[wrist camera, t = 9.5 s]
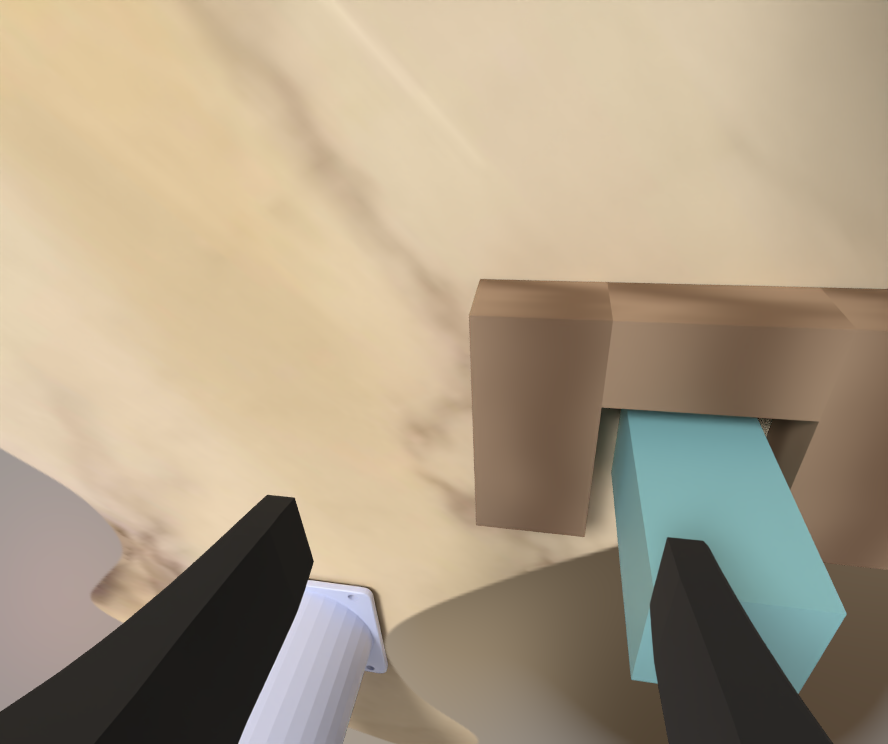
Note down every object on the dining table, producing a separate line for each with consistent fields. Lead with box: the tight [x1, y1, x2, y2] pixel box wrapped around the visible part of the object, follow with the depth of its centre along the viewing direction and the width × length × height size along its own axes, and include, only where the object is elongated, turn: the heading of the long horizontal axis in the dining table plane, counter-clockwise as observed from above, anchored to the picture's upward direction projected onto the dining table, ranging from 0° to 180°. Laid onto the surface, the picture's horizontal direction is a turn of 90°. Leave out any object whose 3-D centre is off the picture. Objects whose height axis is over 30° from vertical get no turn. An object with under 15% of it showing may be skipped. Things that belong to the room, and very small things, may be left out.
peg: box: [611, 409, 846, 694], centre depth 17 cm, size 4×4×8 cm
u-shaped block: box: [469, 279, 888, 570], centre depth 18 cm, size 14×9×2 cm, turn 93°
